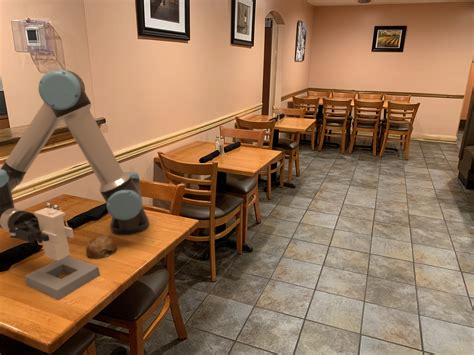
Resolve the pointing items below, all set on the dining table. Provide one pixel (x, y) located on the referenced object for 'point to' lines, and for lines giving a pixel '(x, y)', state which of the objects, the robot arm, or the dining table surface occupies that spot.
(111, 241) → the bread roll
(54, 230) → the cream block
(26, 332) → the dining table surface
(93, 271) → the frame
